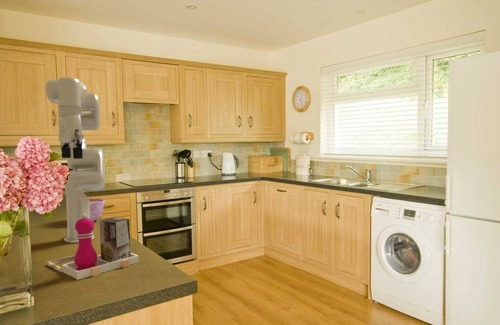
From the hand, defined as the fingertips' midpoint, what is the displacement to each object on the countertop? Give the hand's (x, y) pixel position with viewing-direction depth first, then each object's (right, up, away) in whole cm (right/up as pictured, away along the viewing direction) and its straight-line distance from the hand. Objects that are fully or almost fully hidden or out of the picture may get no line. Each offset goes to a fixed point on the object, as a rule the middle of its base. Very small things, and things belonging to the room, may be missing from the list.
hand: (72, 158), depth 140 cm
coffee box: (+17, -39, -3) cm, 42 cm away
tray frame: (+1, -39, -3) cm, 39 cm away
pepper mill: (+10, -39, -12) cm, 42 cm away
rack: (+14, -39, -7) cm, 41 cm away
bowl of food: (-25, -35, +70) cm, 82 cm away
